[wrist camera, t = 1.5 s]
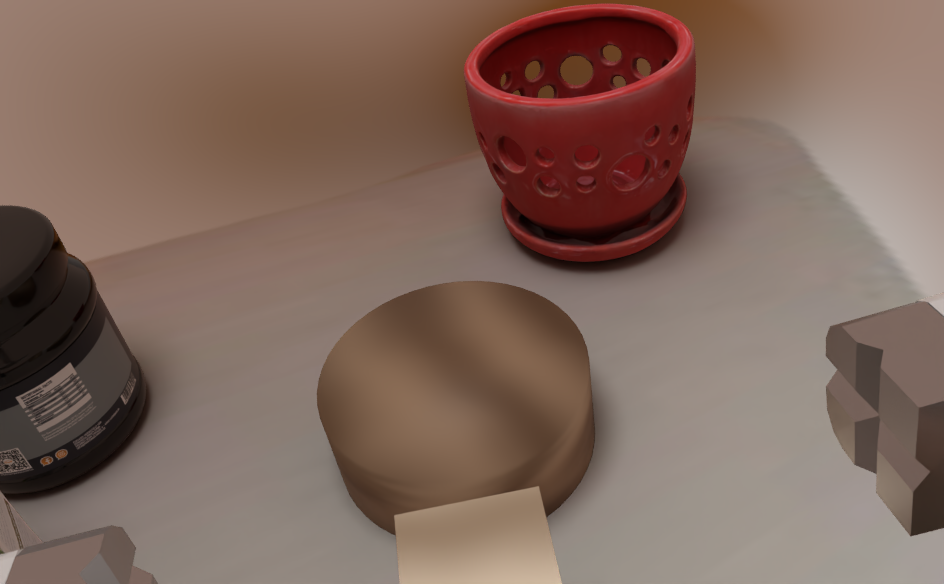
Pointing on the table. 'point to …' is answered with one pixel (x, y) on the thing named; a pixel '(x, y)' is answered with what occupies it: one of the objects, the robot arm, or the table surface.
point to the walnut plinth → (458, 400)
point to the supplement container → (57, 362)
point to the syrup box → (14, 529)
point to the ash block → (478, 542)
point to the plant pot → (586, 128)
